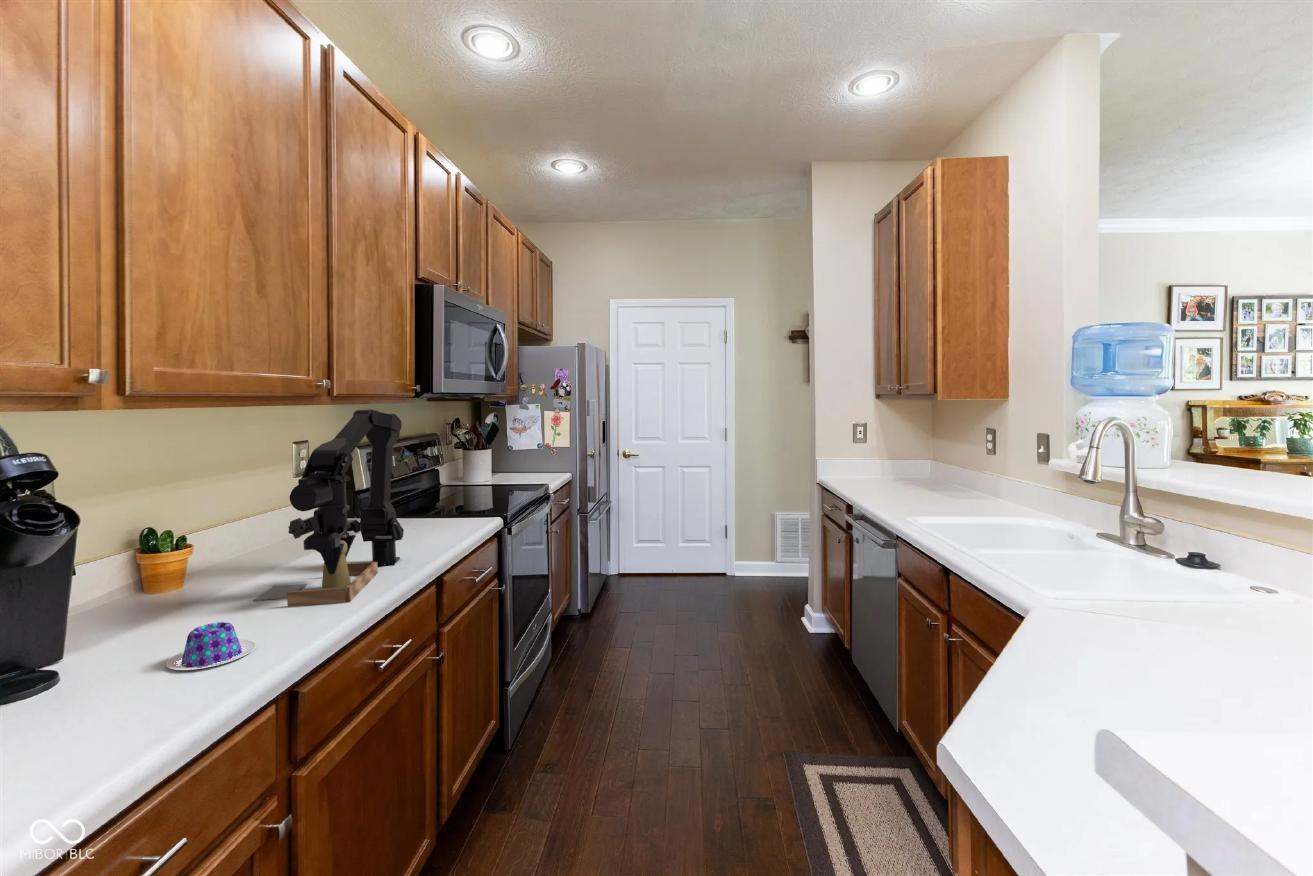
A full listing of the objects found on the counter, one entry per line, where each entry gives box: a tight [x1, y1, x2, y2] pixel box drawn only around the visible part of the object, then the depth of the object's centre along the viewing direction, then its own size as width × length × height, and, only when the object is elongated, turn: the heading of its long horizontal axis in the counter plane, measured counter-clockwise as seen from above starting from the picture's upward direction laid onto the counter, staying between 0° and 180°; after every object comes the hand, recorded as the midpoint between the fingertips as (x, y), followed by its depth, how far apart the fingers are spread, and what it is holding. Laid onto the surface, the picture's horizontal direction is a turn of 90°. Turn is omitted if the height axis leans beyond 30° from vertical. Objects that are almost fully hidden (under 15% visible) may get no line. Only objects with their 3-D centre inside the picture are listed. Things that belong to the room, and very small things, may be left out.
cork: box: [321, 540, 352, 589], centre depth 134 cm, size 6×6×11 cm
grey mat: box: [252, 583, 308, 602], centre depth 132 cm, size 10×7×1 cm
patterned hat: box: [165, 621, 257, 671], centre depth 98 cm, size 12×12×5 cm
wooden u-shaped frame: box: [286, 561, 379, 607], centre depth 134 cm, size 22×12×3 cm, turn 11°
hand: (335, 571), depth 134 cm, fingers closed on cork, 4 cm apart
